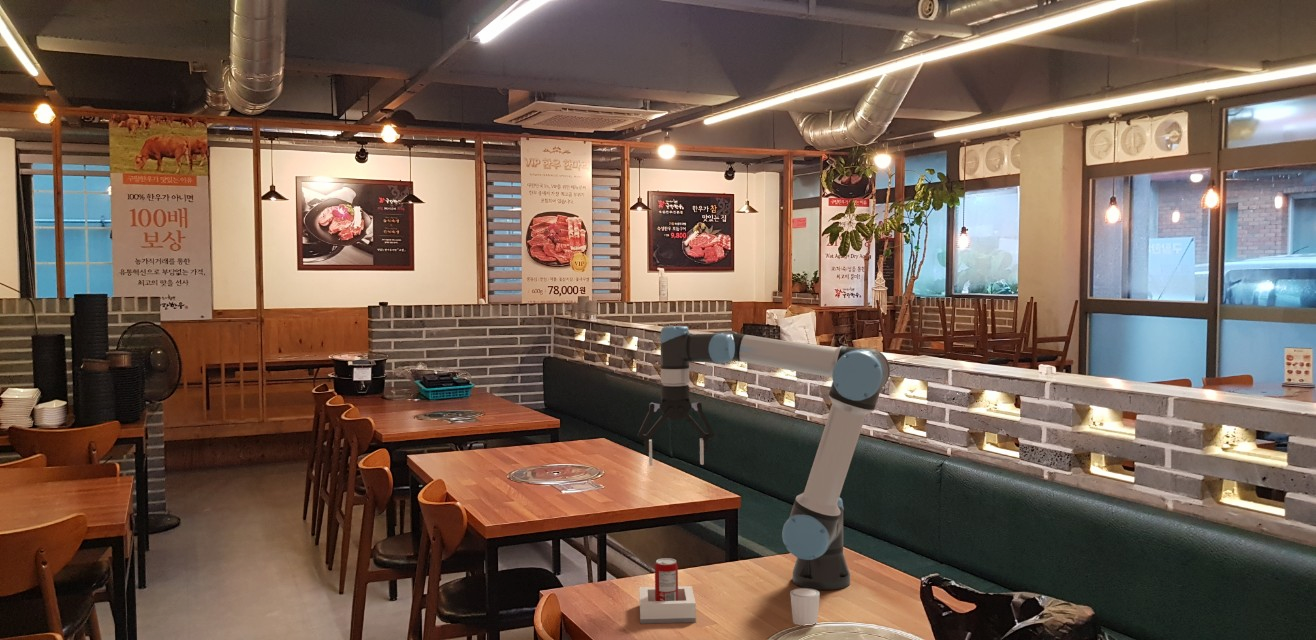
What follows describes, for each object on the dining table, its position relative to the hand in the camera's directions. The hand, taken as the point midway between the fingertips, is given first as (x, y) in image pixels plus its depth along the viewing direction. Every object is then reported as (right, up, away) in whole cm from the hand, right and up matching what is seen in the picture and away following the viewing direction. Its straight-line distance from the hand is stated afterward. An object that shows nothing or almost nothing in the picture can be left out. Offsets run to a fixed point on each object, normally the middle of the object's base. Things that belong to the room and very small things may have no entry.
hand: (676, 464), depth 254 cm
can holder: (-3, -32, -23) cm, 40 cm away
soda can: (-3, -32, -23) cm, 39 cm away
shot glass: (+30, -32, -30) cm, 53 cm away
